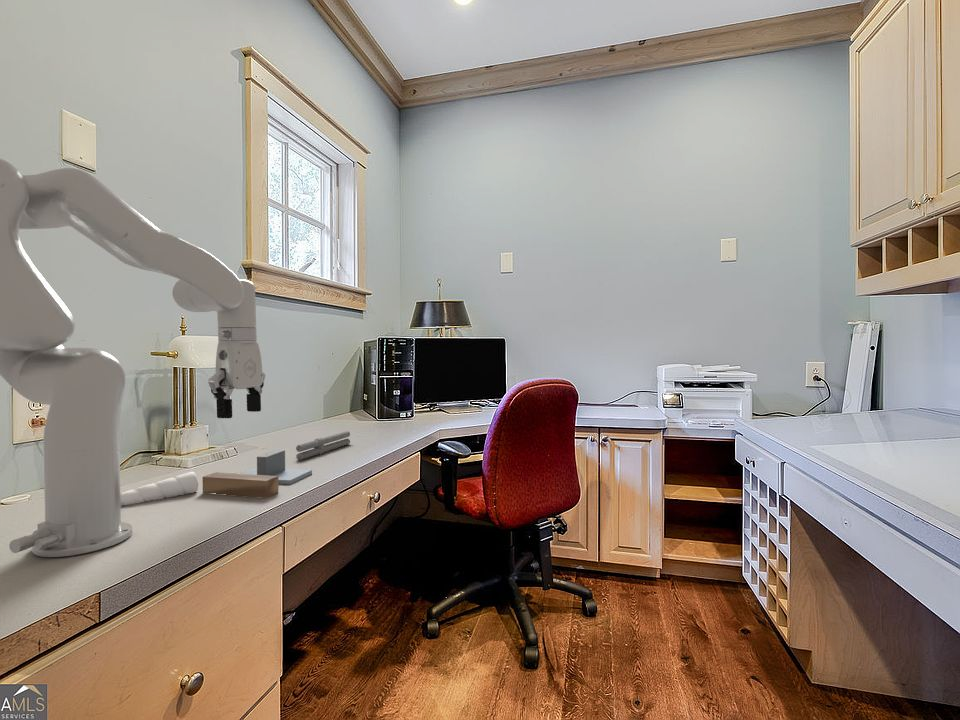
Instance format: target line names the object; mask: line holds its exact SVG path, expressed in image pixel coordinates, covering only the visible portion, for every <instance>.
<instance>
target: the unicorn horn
mask: <svg viewBox="0 0 960 720" xmlns="http://www.w3.org/2000/svg"><path fill="white" fill-rule="evenodd" d="M198 490H199V481H198V477H197V475H196V473H195V471H189V472H185V473H183V474H182V473H181V474H178V475H176V476H173V477H169V478H166V479H163V480H160V481H155V482H153V483H149V484H146V485H143V486H140V487H136V488H133V489H129V490H126V491H124V492H120V499H121V507H122V506H129V505H134V504H135V503H136V504H142V503H144V502H146V501H147V502H152V501H151V500H153V501H157V500H156V499H158V500H162V499H161V498H164V497H165V498H166V497H169V498H173V497H172V496H175V497H178V496H177V495H180V496H184V495H189V494H188V493H192V494H195V493H194V492H196V493H197V492H198ZM141 502H142V503H141Z"/></svg>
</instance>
